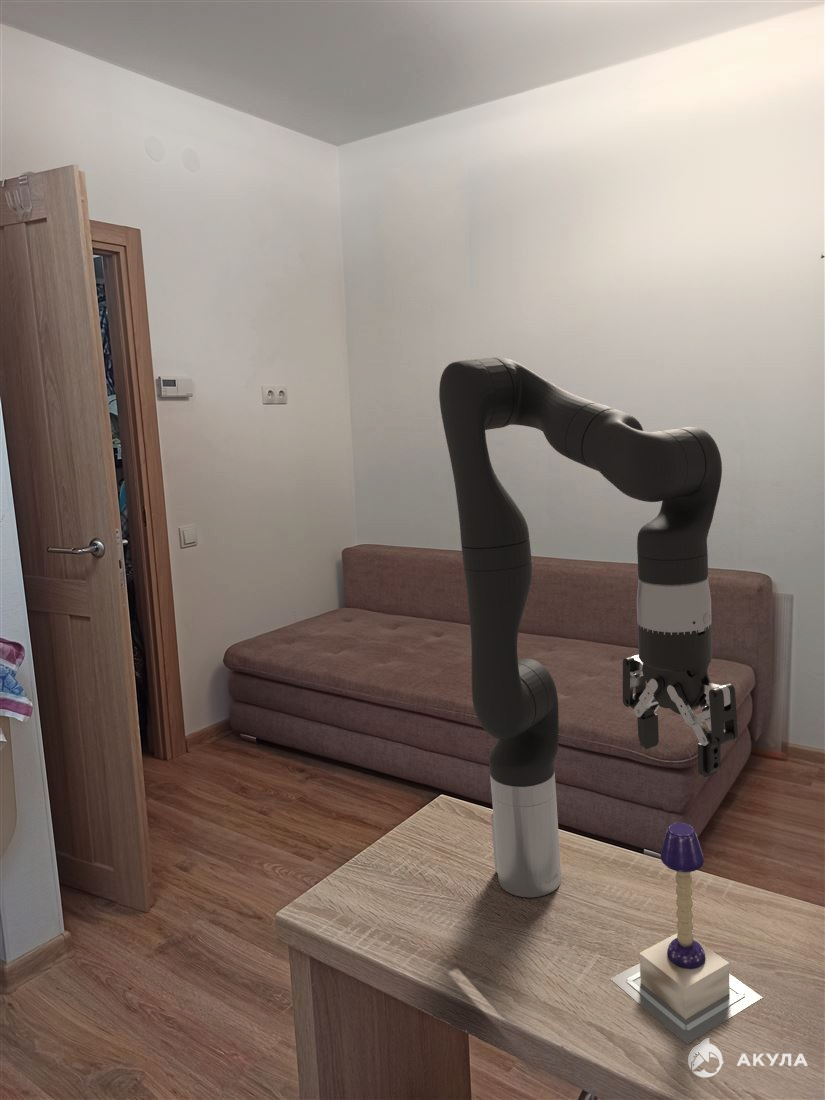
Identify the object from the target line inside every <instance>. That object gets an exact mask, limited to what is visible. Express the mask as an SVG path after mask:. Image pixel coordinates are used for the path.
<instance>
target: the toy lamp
mask: <svg viewBox="0 0 825 1100" xmlns="http://www.w3.org/2000/svg"><path fill="white" fill-rule="evenodd" d="M660 860H661V863H662V864H663V865H664V866H666V867H667V868H668V869H669V870H672V871H674V872H676V874H675V882H676V887H675V893H676V899H675V902H676V903H675V904H676V906H677V908H676V917H677V921H676V929H677V930H678V931H677V932H676V933H677V938H676V939H674V940H673V941H672V942H671V943H670V944H669V946H668V950H667V955H668V958H669V960H670V961H671V962H672V963H673V964H675V965H676V966H679V967H681V968H685V969H695V968H698V967H700V966H702V965H703V964H704V962H705V959H706V958H705V953H704V950H703V948H702V946H701V945H700V944H699V943H698V942H697V941H698V940H697V939H696V940H697V941H696V940H694V939H695V938H694V933H693V930H694V924H693V918H694V913H693V910H692V909H693V905H694V904H693V902H694V901H693V898H692V896H693V888H692V882H693V878H692V875H691V874H692V872H696V871H698V870H700V869H701V868H702V867H703V865H704V864H705V863H704V862H705V859H704V853H703V850H702V847H701V844H700V841H699V838H698V835H697V832H696V829H695V828H694V827H693V826H691V824H688V823H685V822H675V823H671V824H670V825H669V826H668V827H667V829H666V833H665V836H664V839H663V844H662V848H661V851H660ZM693 938H694V939H693Z"/></svg>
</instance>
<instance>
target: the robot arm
mask: <svg viewBox="0 0 825 1100" xmlns="http://www.w3.org/2000/svg"><path fill="white" fill-rule="evenodd" d="M438 391H439V392H438V394H439V395H438V396H439V397H438V398H439V399H438V400H439V407H440V414H441V419H442V425H443V430H444V434H445V440H446V445H447V449H448V453H449V454H448V455H449V458H450V459H449V460H450V464H451V465H450V466H451V469H452V475H453V481H454V482H453V483H454V487H455V497H456V503H457V512H458V520H459V531H460V533H459V534H460V544H461V554H462V562H463V563H462V564H463V570H464V577H465V584H466V592H467V594H466V595H467V604H468V616H469V626H470V627H469V628H470V637H471V638H470V640H471V641H470V642H471V643H470V645H471V650H470V651H471V695H472V696H471V697H472V705H473V709H474V713H475V715H476V718H477V720H478V723H479V724H480V725H481V727H482V728H483V730H484V731H485V732H486V733H487V734H488V735H490V736H491V737H493V738H495V739H497V742H496V743H495V745H494V746H493V748H492V749H491V751H490V754H489V758H488V759H489V760H488V765H489V767H488V768H489V777H490V789H491V790H490V791H491V799H492V800H491V802H492V803H491V804H492V813H491V816H490V819H491V833H492V844H493V845H492V847H493V858H494V859H493V860H494V871H495V872H496V873H497V880H498V884H499V886H500V887H501V888H502V889H503V890H504V892H507V893H509V894H510V895H514V896H516V897H522V898H538V897H543V896H546V895H550V894H551V893H553V892H554V891H555V890H557V889H558V888H559V886H560V885H561V882H562V875H561V874H562V872H561V871H562V870H561V869H562V868H561V853H560V851H561V850H560V835H559V821H558V819H559V817H558V808H557V807H558V805H557V804H558V803H557V789H556V774H555V762H556V761H555V760H556V758H557V755H558V751H559V744H560V741H559V739H560V736H559V733H560V732H559V726H560V725H559V717H560V716H559V698H558V691H557V687H556V684H555V681H554V678H553V677H552V675H551V672H550V671H549V670H548V669H547V668H546V666H544V665H543V664H542V663H540V662H539V661H538V660H536V659H532V658H519V659H518V637H519V636H518V635H519V628H520V625H521V621H522V618H523V615H524V610H525V608H526V604H527V599H528V597H529V591H530V588H531V582H532V576H533V559H532V549H531V540H530V539H531V538H530V532H529V527H528V523H527V521H526V518H525V516H524V514H523V513H522V511H521V510H520V508H519V507H518V505H517V504H516V502H515V501H514V500H513V498H512V496H511V495H510V494H509V492H507V490H506V489H505V487H504V486H503V484H502V483H501V482H500V480H499V478H498V476H497V474H496V473H495V470H494V468H493V466H492V462H491V459H490V454H489V450H488V449H489V448H488V444H487V436H486V435H487V434H486V431H490V430H494V429H495V430H496V429H502V428H506V427H507V426H510V425H511V426H523V427H530V428H532V429H533V428H535V429H537V430H539V431H541V432H542V433H543V434H544V437H545V439H546V440H547V442H548V444H549V446H551V447H552V448H553V449H554V450H555V451H556V452H557V453H558V454H560V455H562V456H563V457H565V458H567V459H568V460H571V461H573V462H575V463H578V464H580V465H582V466H585V467H587V468H589V469H592V470H594V471H596V472H599V473H600V474H601V475H602V476H603V477H604V478H605V479H606V481H608V482H610V483H611V484H612V486H614V487H615V488H616V489H618V490H619V492H621V493H622V494H624V495H626V496H627V497H629V498H632V499H634V500H638V501H640V502H641V501H642V502H646V503H658V502H661V504H660V505H661V506H660V509H659V512H658V514H657V516H656V517H654V519H652V520H651V521H649V522H647V523H646V524H644V525H643V526H642V527H641V528H640V529H639V530H638V533H637V539H636V540H637V541H636V551H637V552H636V553H637V574H638V577H637V578H638V580H637V582H638V583H637V592H636V620H637V622H636V625H637V644H638V645H637V646H638V654H635V655H631V656H629V657H625V658H623V660H622V703H623V706H624V707H627V708H632V710H633V713H634V716H636V717H637V737H638V740H639V745H640V747H641V748H643V749H645V750H649V749H652V748H654V747H656V746H658V744H659V743H660V742H659V737H660V736H659V714H658V713H655V712H657V710H659V708H660V707H661V708H663V709H670V710H671V711H673V712H674V713H675V714H678V715H681V717H682V719H683V721H684V723H685V725H687V726H688V727H691V728H692V731H693V732H694V734H695V736H696V737H697V740H698V743H697V773H698V775H699V776H702V777H703V778H708V777H710V776H714V775H715V774H717V773H718V771H720V769H721V767H722V766H721V765H722V764H721V761H722V760H721V746H723V745H725V744H727V743H729V742H732V741H736V740H737V739H738V738H739V732H738V731H739V730H738V718H737V716H738V714H737V701H736V700H737V699H736V688H735V686H734V685H733V684H731V683H726V684H722V685H721V684H716V683H713V682H711V680H710V677H709V674H708V673H709V672H708V670H709V666H710V663H712V662H711V661H712V659H713V634H712V633H713V632H712V629H713V628H712V626H713V624H712V596H711V589H710V583H709V561H708V560H709V558H708V557H709V555H708V554H709V553H708V537H709V532H710V529H711V525H712V524H713V518H714V516H715V515H714V514H715V510H716V504H717V501H718V496H719V492H720V488H721V483H722V478H723V477H722V475H723V474H722V473H723V463H722V457H721V453H720V451H719V450H720V449H719V447H718V445H717V442H716V441H715V439H714V438H713V437H712V435H710V434H709V432H708V431H706V430H704V429H702V428H699V427H695V426H694V427H693V426H686V427H685V426H684V427H677V428H672V429H665V430H659V431H652V432H651V431H646V430H645V431H644V429H643V427H642V424H641V423H640V422H639V420H638V419H637V418H635V416H633V415H631V414H629V413H628V412H625V411H623V410H620V409H617V408H614V407H612V406H610V405H609V406H608V405H605V404H603V403H599V402H596V401H594V400H590V399H587V398H584V397H582V396H579V395H576V394H575V393H574V394H573V393H572V392H569V391H567V390H565V389H563V388H561V387H560V386H558V385H555V384H554V383H553V382H550V381H549V380H547V379H545V378H543V377H542V376H540V375H539V374H537V373H535V372H534V371H532V370H531V369H529V368H527V367H526V366H524V365H523V364H521V363H519V362H517V361H515V360H513V359H510V358H508V357H507V358H506V357H500V356H499V357H487V358H478V359H466V360H464V359H463V360H459V361H452V362H451V363H449V364H448V365H447V366H446V367H445V368H444V369H443V372H442V374H441V376H440V381H439V389H438ZM634 688H635V689H634ZM634 690H635V691H634ZM699 707H700V708H701V711H702V712H700V713H695V712H694V711H696V710H697V709H698V708H699ZM703 722H704V723H705V725H706V726H707V728H708V731H707V729H706V727H705V726H704V724H703Z"/></svg>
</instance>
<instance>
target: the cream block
mask: <svg viewBox="0 0 825 1100" xmlns="http://www.w3.org/2000/svg"><path fill="white" fill-rule="evenodd" d="M677 933H678V932H676V933H675V934H673V935H671V936H669V937H667V938H665V939H663V940H661V941H659V942H658V943H655V944H654V945H652V946H650V947H648V948H647V949H644V950H643V951H641V952H639V963H640V979H641V983H642V984H643V985H644V986H645V987H647V988H648V989H649V990H650V991H652V992H653V993H654V994H655V995H656V996H658V997H659V998H660V999H661V1000H662V1001H664V1002H665V1003H666V1004H667V1005H669V1006H670V1007H671V1008H672V1009H673V1010H675V1011H676V1012H677V1013H678V1014H679V1015H681V1016H682V1017H683V1018H684V1019H688V1018H689V1017H691V1016H693V1015H694V1014H696V1013H698V1012H699V1011H701V1010H703V1009H704V1008H706V1007H708V1006H709V1005H711V1004H713V1003H714V1002H716V1001H718V1000H719V999H721V998H723V997H725V996H726V995H728V994H730V984H729V974H730V962H728V961H727V960H726V959H724V958H722V957H721V956H720V955H718V954H717V953H715V952H714V951H712V950H711V949H710V948H709V947H708V946H706V945H704V944H703V943H701V942H700V941H698V940H697V939H695V938H694V937H693V939H694V940H696V941H697V942H698V943H699V944H700V945H701V946H702V948H703V950H704V953H705V958H706V959H705V962H704V964H703V965H702V966H700V967H698V968H695V969H685V968H681V967H679V966H676V965H675V964H673V963H672V962H671V961H670V960H669V958H668V955H667V950H668V946H669V944H670V943H671V942H672V941H673V940H674V939H676V938H677Z"/></svg>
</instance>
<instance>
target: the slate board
mask: <svg viewBox="0 0 825 1100" xmlns="http://www.w3.org/2000/svg"><path fill="white" fill-rule="evenodd" d="M609 979H610V981H612V982H613V983H614V984H615V985H616V986H617V987H619V988H620V990H622V991H623V992H625V994H627V995H628V996H629V997H630V998H632V1000H634V1001H635V1002H636V1003H637V1004H639V1005H640V1006H641V1007H642V1008H643V1009H644V1010H645V1011H646V1012H648V1013H649V1014H650V1015H651V1016H653V1017H654V1018H655V1019H656V1020H657V1021H658V1022H659V1023H661V1024H662V1025H663V1026H664V1027H665V1028H666V1029H668V1030H669V1032H671V1033H672V1034H673V1035H675V1036H676V1037H677V1038H678V1039H679V1040H680V1041H682V1042H683V1043H684V1044H685V1045H689V1044H690V1043H692V1042H693V1041H695V1040H697V1039H699V1038H701V1036H702V1037H703V1035H705V1034H707V1033H708V1032H710V1031H712V1030H713V1029H715V1028H716V1027H718V1026H719V1025H721V1024H722V1023H724V1022H726V1021H728V1020H729V1019H730V1018H732V1017H735V1016H736V1015H738V1014H739V1013H740V1012H742V1011H744V1010H745V1009H747V1008H749V1007H750V1006H752V1005H753V1004H755V1003H757V1002H759V1001H760V1000H762V999H763V998H764V997H763V996H761V995H760V994H758V992H756V991H754V990H753V989H752V988H750V986H747V985H746V984H745V983H743V982H742V981H740V980H739V979H738V978H736V977H735V976H733V975H732V974H731V973H729V984H730V994H728V995H726V996H725V997H723V998H721V999H719V1000H718V1001H716V1002H714V1003H713V1004H711V1005H709V1006H708V1007H706V1008H704V1009H703V1010H701V1011H699V1012H698V1013H696V1014H694V1015H693V1016H691V1017H689V1018H688V1019H684V1018H683V1017H682V1016H681V1015H679V1014H678V1013H677V1012H676V1011H675V1010H673V1009H672V1008H671V1007H670V1006H669V1005H667V1004H666V1003H665V1002H664V1001H662V1000H661V999H660V998H659V997H658V996H656V995H655V994H654V993H653V992H652V991H650V990H649V989H648V988H647V987H645V986H644V985H643V984H642V983H641V979H640V962H639V963H637V964H636V965H633V966H631V967H629V968H628V969H626V970H623V971H622V972H620V973H618V974H617V975H614V976H613V977H611V978H609Z"/></svg>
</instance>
